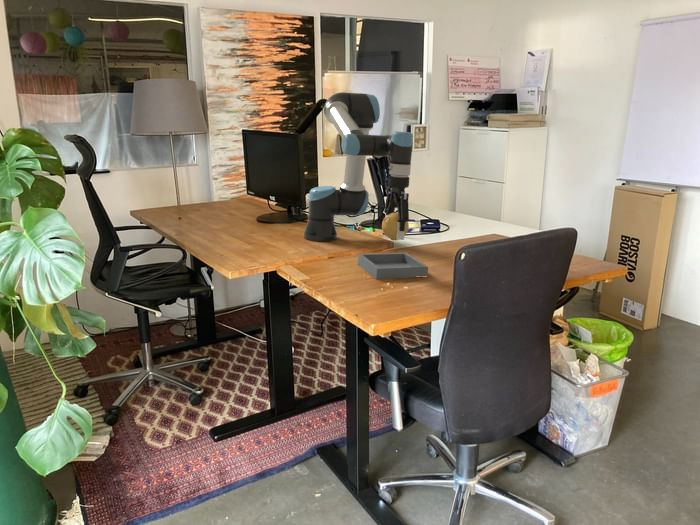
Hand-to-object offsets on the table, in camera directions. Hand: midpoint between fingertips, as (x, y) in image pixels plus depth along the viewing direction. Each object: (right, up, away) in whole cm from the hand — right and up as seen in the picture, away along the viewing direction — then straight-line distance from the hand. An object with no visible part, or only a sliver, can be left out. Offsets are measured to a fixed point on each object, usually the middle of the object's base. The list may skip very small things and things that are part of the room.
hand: (394, 236), depth 203 cm
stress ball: (0, -1, 0) cm, 1 cm away
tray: (-1, -13, +4) cm, 13 cm away
